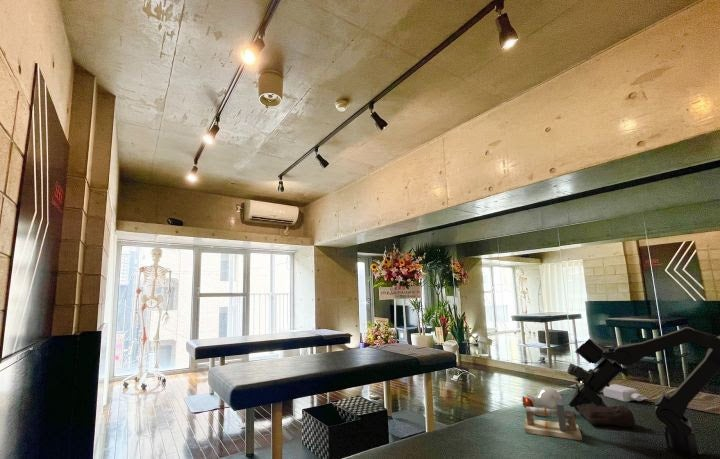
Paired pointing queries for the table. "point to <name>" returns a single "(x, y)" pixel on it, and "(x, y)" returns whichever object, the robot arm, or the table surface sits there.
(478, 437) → the table surface
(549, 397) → the potion bottle
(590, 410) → the brown curved lump
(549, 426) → the pipe rig
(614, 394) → the charger
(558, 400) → the collar
